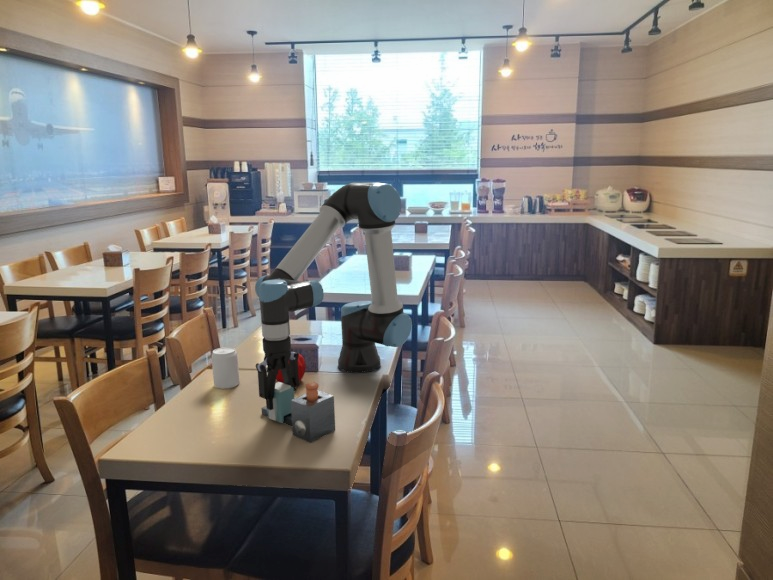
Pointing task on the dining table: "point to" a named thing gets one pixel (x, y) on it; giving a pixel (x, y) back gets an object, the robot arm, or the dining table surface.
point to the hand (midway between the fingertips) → (281, 415)
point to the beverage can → (225, 367)
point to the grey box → (313, 416)
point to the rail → (286, 418)
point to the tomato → (300, 369)
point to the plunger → (312, 391)
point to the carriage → (283, 400)
